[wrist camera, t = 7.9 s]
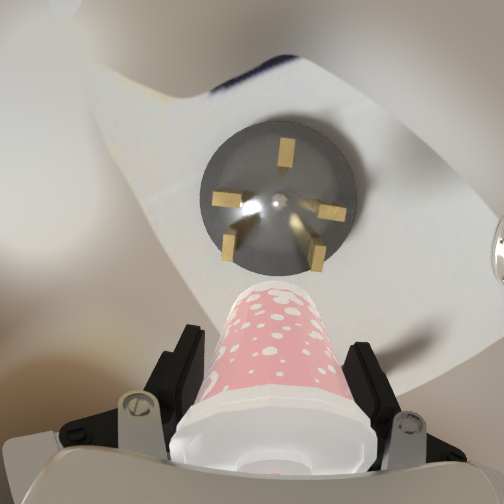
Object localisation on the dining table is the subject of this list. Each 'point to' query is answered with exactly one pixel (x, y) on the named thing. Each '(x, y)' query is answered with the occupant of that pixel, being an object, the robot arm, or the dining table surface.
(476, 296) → the dining table surface
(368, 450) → the beverage cup
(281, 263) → the gold studded metal disc
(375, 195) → the dining table surface
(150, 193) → the dining table surface
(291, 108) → the dining table surface
